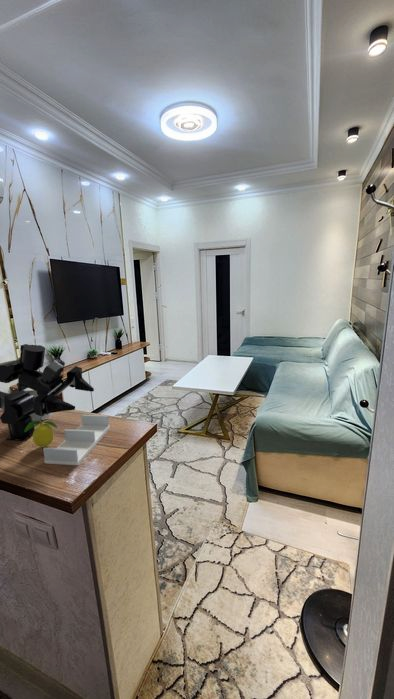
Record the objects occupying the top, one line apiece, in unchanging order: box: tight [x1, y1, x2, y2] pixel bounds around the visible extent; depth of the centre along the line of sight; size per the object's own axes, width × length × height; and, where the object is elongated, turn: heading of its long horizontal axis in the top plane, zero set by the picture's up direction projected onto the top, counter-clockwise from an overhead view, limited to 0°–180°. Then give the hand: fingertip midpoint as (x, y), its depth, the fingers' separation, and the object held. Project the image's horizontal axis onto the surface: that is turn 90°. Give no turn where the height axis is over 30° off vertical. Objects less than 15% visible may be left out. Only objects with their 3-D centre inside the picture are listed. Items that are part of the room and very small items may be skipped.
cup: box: [22, 388, 53, 422], centre depth 107 cm, size 8×8×12 cm
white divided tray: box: [43, 414, 111, 466], centre depth 89 cm, size 10×21×4 cm, turn 172°
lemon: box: [24, 417, 58, 448], centre depth 87 cm, size 7×6×10 cm
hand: (84, 398), depth 87 cm, fingers open, 9 cm apart
